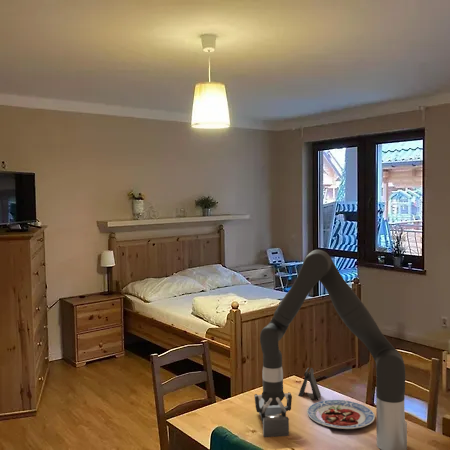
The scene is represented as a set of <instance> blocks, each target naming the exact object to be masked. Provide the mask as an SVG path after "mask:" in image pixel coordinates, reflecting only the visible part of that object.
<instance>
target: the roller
mask: <svg viewBox="0 0 450 450" xmlns="http://www.w3.org/2000/svg"><path fill="white" fill-rule="evenodd" d="M270 417H283V416H282V415H281V414H280V415H276V416H265V418H270Z"/></svg>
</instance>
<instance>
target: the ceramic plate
mask: <svg viewBox="0 0 450 450" xmlns="http://www.w3.org/2000/svg"><path fill="white" fill-rule="evenodd" d="M306 412H307V415H308V416H307V417H309V418H310V419H311V420H312V421H314V422H315V423H317V424H319V425H321V426H324V427H325V426H326V427H328V428H333V429H340V430H342V429H343V430H354V429H360V428H364V427H367V426H369V425H371V424H372V423H373V422H374V421H375V418H376V414H375V413H374V411H373V410H372V409H371V408H369V407H368V406H366V405H364V404H362V403H358V402H355V401H351V400H345V399H342V400H341V399H327V400H321V401H317V402H314V403H313V404H311V405H310V406H309V407H308V408H307V411H306ZM317 413H319V415H320V418H321V419H322V420H321V419H320V418H319V417H318V416H317Z"/></svg>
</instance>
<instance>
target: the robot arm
mask: <svg viewBox="0 0 450 450" xmlns="http://www.w3.org/2000/svg"><path fill="white" fill-rule="evenodd" d="M300 268H301V269H300V270H299V272H298V275H297V276H296V278H295V281H294V282H293V284H292V285H291V287H290V289H288V292H287V293H286V294H285V295H284V297H283V298H282V300H281V301H280V303H279V304H278V306H277V308H276V309H275V310H274V313H273V317H272V318H271V319H270V321H269V322H268V324H267V325H265V326H264V327H263V328H262V329H261V331H260V336H259V342H260V346H261V351H262V376H261V377H262V393H261V394H257V393H255V394H254V397H253V398H254V403H255V410H256V412H257V413H259V412H260V413H261V415H260V421H261V422H262V423H263V418H265V411H266V409H267V408H268V406H272V405H279V406H280V407H281V409H282V410H281V414H280V415H282V416H283V417H287V412H288V411H291V410H292V399H293V395H292V393H291V392H286V393H285V392H284V371H283V353H282V352H281V350H280V348H279V347H280V346H279V341H281V340H282V338H283V337H284V335H285V334H286V333H287V330H288V328H289V326H290V325H291V324H292V321H294V318H295V317H296V316H297V314H298V313H299V311H300V309H301V308H302V306H303V305H304V302H305V300H306V298H307V297H308V295H309V294H310V292H311V291H312V289H313V288H314V287H315V286H316V285H317V283H318V282H320V283H321V284H322V285H323V286H322V287H324V289H325V290H326V291H327V294H328V296H329V299H330V300H331V303H332V306H333V307H334V310H335V312H336V313H337V314H338V316H339V317H340V319H341V321H342V322H343V323H344V325H345V326H346V327H347V328H348V329H349V331H350V332H351V333H352V334H353V335H354V336H356V338H357V339H359V340H360V342H362V343H363V344H364V345H365V347H366V348H367V350H368V351H369V353H370V354H371V357H372V359H373V360H374V361H375V367H376V373H375V374H376V376H375V377H376V381H375V382H376V389H375V390H376V391H375V394H376V395H375V397H376V398H375V399H376V400H375V401H376V404H375V405H376V406H375V407H376V410H375V411H376V414H375V418H376V421H375V422H376V423H375V424H376V429H375V430H376V447H377V448H378V449H379V450H408V423H407V421H406V419H405V413H406V412H405V395H406V394H405V393H406V365H405V360H404V358H403V356H402V354H401V353H400V352H399V351H398V350H397V349H396V348H395V347H394V345H392V343H391V342H390V341H389V340H388V339H387V337H385V335H384V334H383V333H382V331H381V329H380V328H379V326H378V323H377V322H376V321H375V318H374V317H373V315H372V314H371V312H370V311H369V310H368V309H367V307H366V306H365V304H364V303H363V302H362V300H361V299H360V298H359V297H358V295H357V294H356V293H355V291H354V290H353V288H351V286H350V285H349V284H348V283H347V282H346V280H345V279H344V278H343V276H342V274H341V273H340V271H339V270H338V268H337V267H336V264H335V263H334V261H333V259H332V257H331V255H329V254H328V253H327V252H326V251H325V250H322V249H314V250H312V251H310V252H309V253H308V254H307V255H306V257H304V260H303V263H302V266H301V267H300ZM261 398H263V399H264V403H263V406H262V407H261V408H260V406H259V401H260V400H261ZM284 398H285V399H286V405H284V404H283V400H284Z"/></svg>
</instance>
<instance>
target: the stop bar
mask: <svg viewBox="0 0 450 450" xmlns="http://www.w3.org/2000/svg"><path fill="white" fill-rule="evenodd" d="M289 420H290V419H289V417H288V416H286V417H270V418H263V422H262V435H263V438H273V437H275V438H276V437H290V429H289V428H290V425H289V424H290V422H289Z"/></svg>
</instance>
